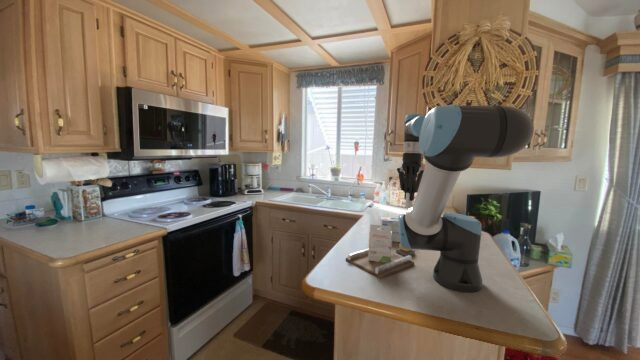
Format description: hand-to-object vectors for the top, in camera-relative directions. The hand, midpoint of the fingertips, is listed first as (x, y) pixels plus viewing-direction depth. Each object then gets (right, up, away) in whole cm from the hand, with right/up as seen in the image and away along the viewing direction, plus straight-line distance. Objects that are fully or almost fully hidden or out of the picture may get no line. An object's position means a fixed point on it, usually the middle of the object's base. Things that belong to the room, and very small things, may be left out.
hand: (408, 207), depth 113 cm
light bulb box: (-2, -18, +20) cm, 27 cm away
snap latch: (-1, -18, +2) cm, 18 cm away
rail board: (-14, -21, -8) cm, 26 cm away
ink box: (-14, -20, -8) cm, 26 cm away
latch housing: (-1, -20, +2) cm, 20 cm away
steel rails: (-14, -21, -8) cm, 26 cm away
